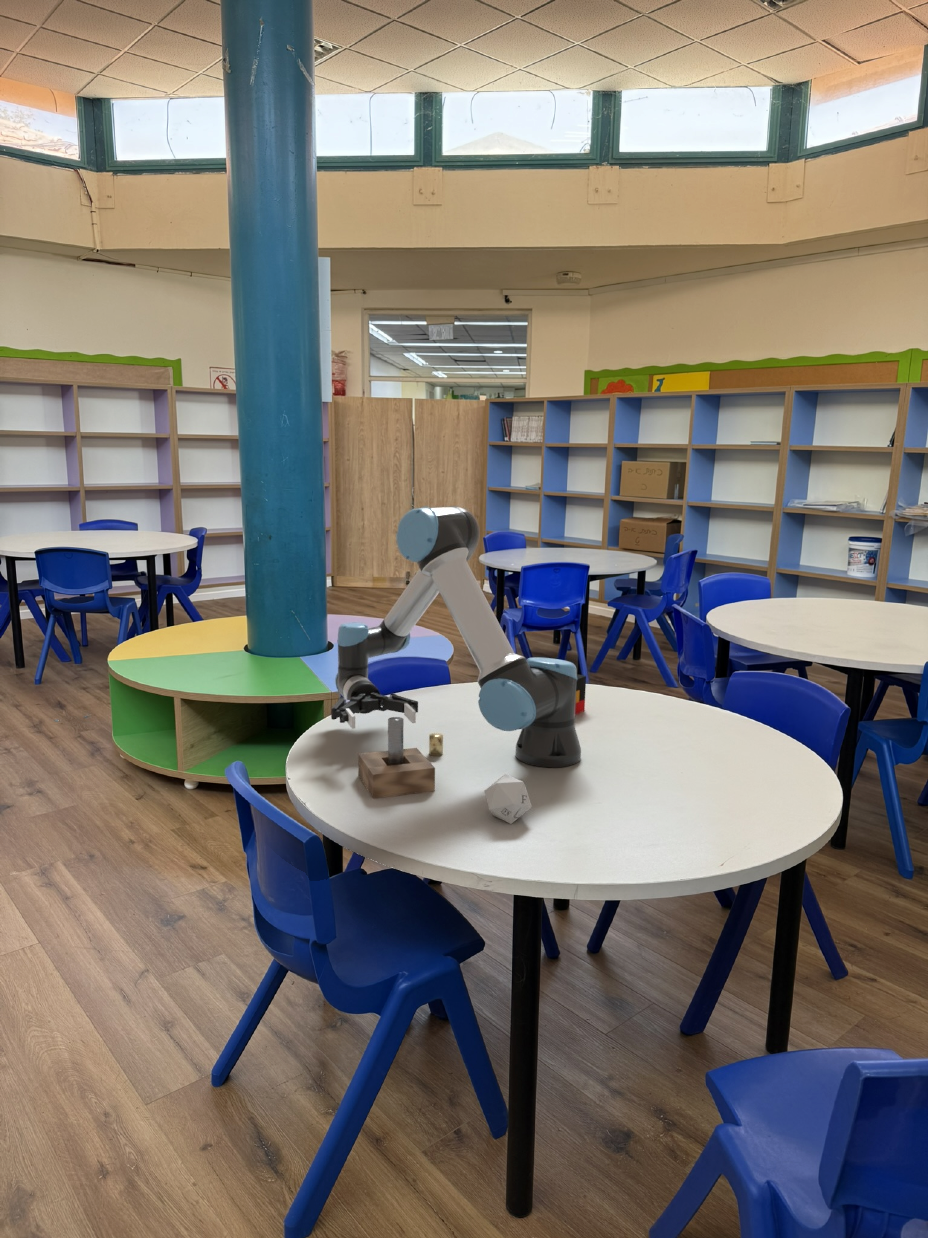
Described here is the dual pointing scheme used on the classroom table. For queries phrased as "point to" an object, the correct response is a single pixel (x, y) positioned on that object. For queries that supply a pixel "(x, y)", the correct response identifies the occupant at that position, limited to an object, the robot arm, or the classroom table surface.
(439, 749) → the short brass pin
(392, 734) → the long metal pin
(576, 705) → the puzzle toy
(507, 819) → the die
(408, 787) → the hole block
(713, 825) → the classroom table surface
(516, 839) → the classroom table surface
